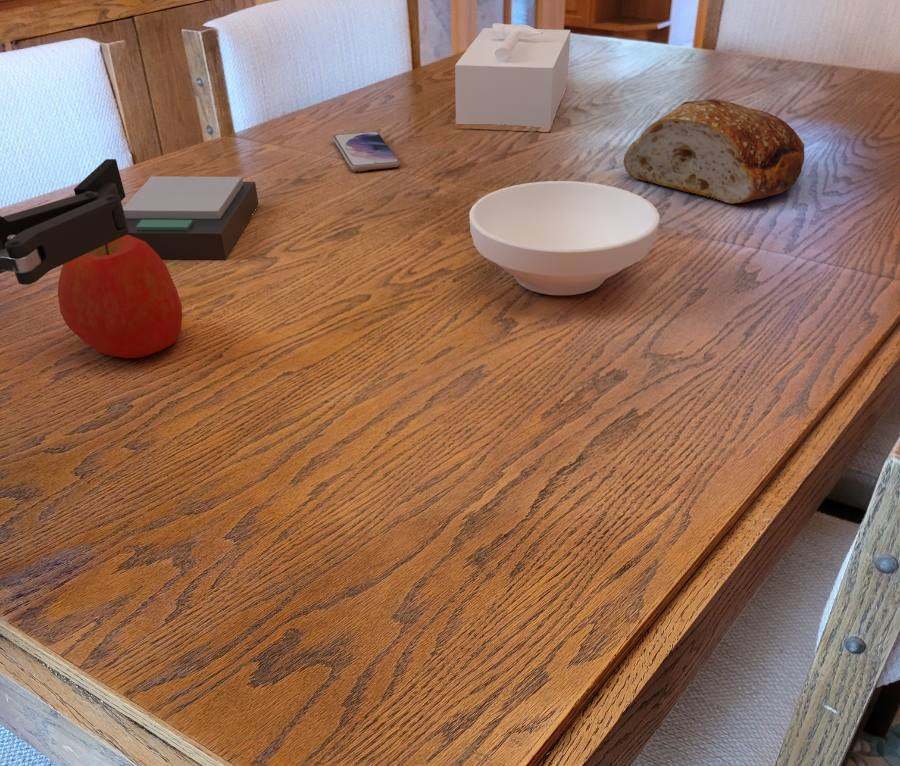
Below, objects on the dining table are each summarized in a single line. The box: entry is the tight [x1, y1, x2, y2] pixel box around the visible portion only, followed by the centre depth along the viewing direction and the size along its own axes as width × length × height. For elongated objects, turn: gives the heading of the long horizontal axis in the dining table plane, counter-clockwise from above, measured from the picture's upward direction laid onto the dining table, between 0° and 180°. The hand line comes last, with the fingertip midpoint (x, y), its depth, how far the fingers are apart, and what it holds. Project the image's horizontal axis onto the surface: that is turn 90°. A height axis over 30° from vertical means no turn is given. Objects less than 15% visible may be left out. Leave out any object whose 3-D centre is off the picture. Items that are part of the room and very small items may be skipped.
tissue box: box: [454, 22, 571, 128], centre depth 142 cm, size 14×25×11 cm, turn 169°
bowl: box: [468, 180, 661, 296], centre depth 95 cm, size 20×20×7 cm
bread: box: [623, 98, 806, 204], centre depth 116 cm, size 20×18×10 cm
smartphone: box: [332, 131, 401, 172], centre depth 129 cm, size 7×1×15 cm
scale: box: [123, 175, 260, 261], centre depth 109 cm, size 14×17×4 cm
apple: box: [57, 235, 183, 359], centre depth 85 cm, size 11×11×11 cm
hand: (29, 177), depth 69 cm, fingers open, 13 cm apart
